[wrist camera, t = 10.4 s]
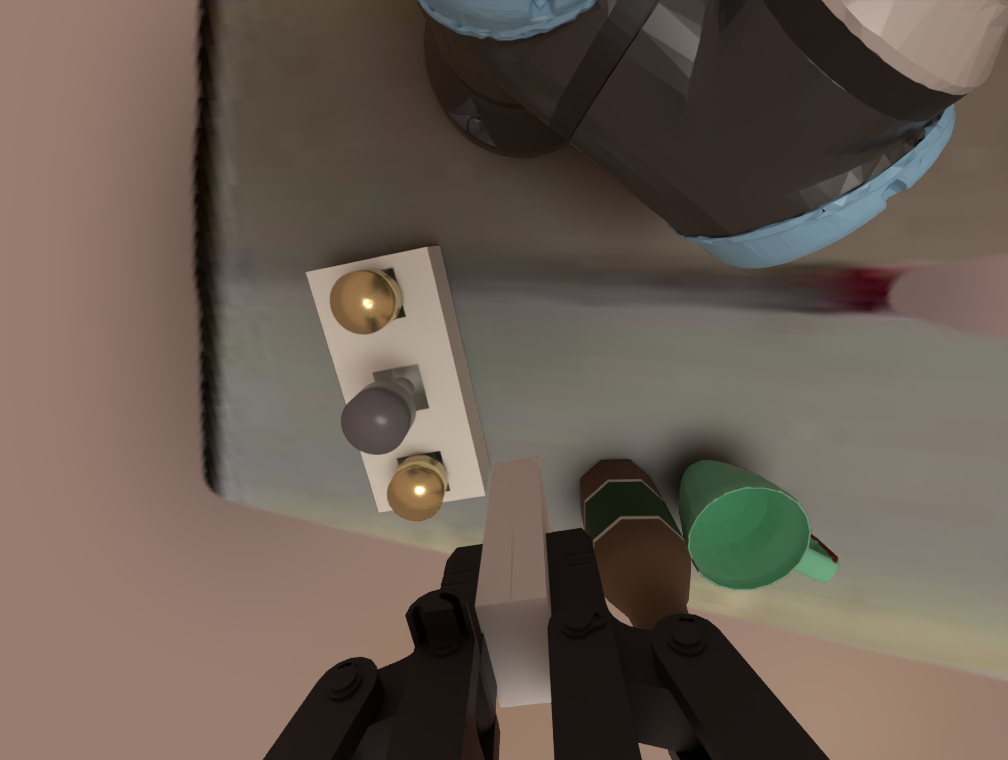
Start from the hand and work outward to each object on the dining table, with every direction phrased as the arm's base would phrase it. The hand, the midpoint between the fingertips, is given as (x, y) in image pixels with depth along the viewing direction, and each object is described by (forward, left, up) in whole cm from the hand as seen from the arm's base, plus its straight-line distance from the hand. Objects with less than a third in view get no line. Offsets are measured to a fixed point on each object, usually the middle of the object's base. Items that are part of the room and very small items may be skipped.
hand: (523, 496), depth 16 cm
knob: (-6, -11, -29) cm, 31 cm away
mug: (+20, +17, -31) cm, 40 cm away
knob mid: (+2, -11, -25) cm, 27 cm away
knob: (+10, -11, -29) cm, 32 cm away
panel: (+2, -11, -30) cm, 32 cm away
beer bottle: (+18, +6, -31) cm, 36 cm away
